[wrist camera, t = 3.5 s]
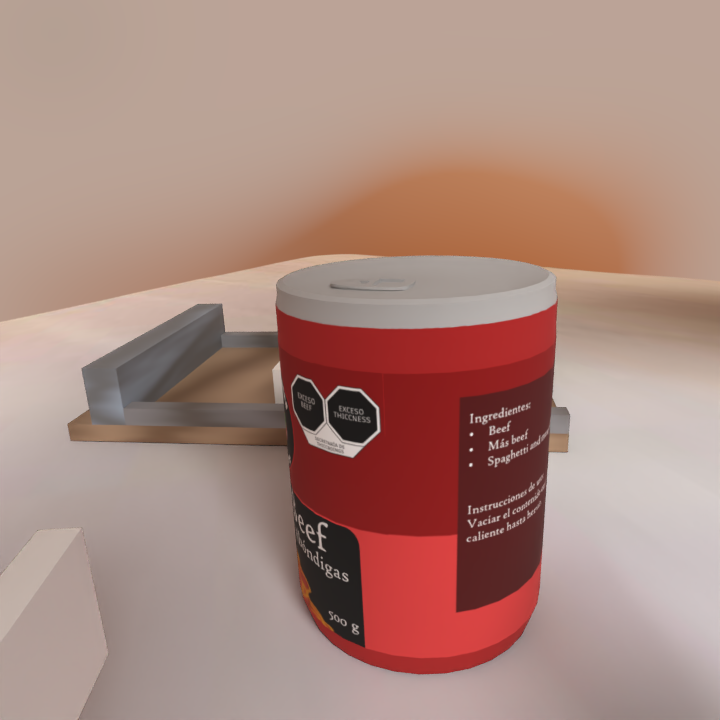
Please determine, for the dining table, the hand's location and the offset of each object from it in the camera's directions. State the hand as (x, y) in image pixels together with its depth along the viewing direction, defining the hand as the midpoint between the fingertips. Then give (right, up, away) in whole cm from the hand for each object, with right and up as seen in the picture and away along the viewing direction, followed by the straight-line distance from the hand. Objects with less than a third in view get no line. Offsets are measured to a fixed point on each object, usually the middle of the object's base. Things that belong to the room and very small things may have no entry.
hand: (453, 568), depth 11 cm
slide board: (-4, +2, +28) cm, 29 cm away
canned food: (0, -4, +10) cm, 11 cm away
